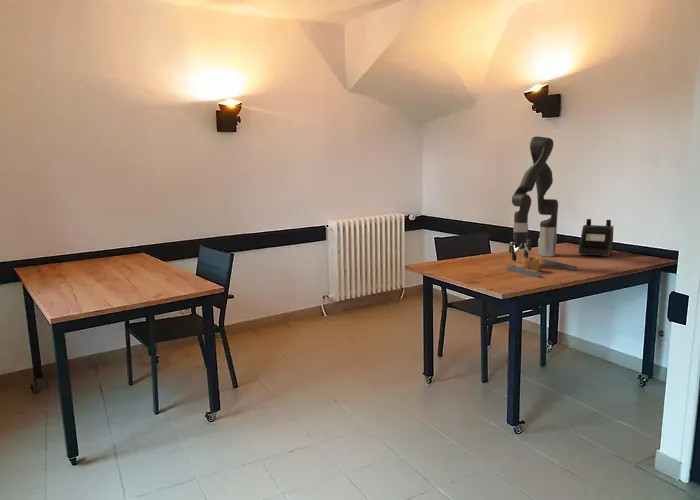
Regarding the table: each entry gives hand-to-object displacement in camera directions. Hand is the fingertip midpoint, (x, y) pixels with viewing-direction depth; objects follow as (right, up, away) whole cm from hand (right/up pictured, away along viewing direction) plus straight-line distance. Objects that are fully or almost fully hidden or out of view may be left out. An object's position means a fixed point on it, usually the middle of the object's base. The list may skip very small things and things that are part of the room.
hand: (520, 259), depth 302 cm
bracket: (+1, -5, -8) cm, 10 cm away
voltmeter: (+51, +2, +23) cm, 56 cm away
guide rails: (+7, -5, -13) cm, 16 cm away
